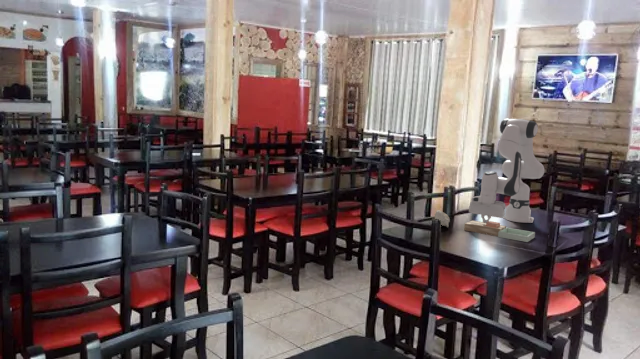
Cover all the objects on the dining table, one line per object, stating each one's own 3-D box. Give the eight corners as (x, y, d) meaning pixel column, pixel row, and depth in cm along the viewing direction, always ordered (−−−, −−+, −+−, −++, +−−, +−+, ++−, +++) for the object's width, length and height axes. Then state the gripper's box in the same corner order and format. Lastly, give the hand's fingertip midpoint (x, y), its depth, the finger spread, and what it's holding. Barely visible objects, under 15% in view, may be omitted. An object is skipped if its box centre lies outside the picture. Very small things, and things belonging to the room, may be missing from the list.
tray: (505, 232, 318) (506, 227, 318) (534, 237, 309) (535, 232, 309) (497, 236, 306) (498, 231, 306) (527, 242, 297) (527, 236, 296)
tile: (489, 224, 319) (489, 221, 318) (499, 226, 315) (500, 222, 315) (486, 226, 314) (486, 222, 314) (496, 227, 310) (496, 224, 310)
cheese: (437, 223, 310) (451, 205, 317) (427, 220, 316) (441, 202, 322) (444, 241, 319) (458, 223, 325) (434, 237, 324) (447, 220, 330)
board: (471, 226, 329) (472, 220, 328) (505, 232, 317) (506, 226, 317) (464, 230, 318) (464, 223, 318) (498, 236, 307) (499, 229, 306)
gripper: (507, 201, 312) (505, 225, 314) (472, 196, 323) (470, 219, 325) (504, 202, 307) (501, 226, 309) (468, 197, 318) (466, 220, 320)
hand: (485, 222), depth 317 cm, fingers closed
